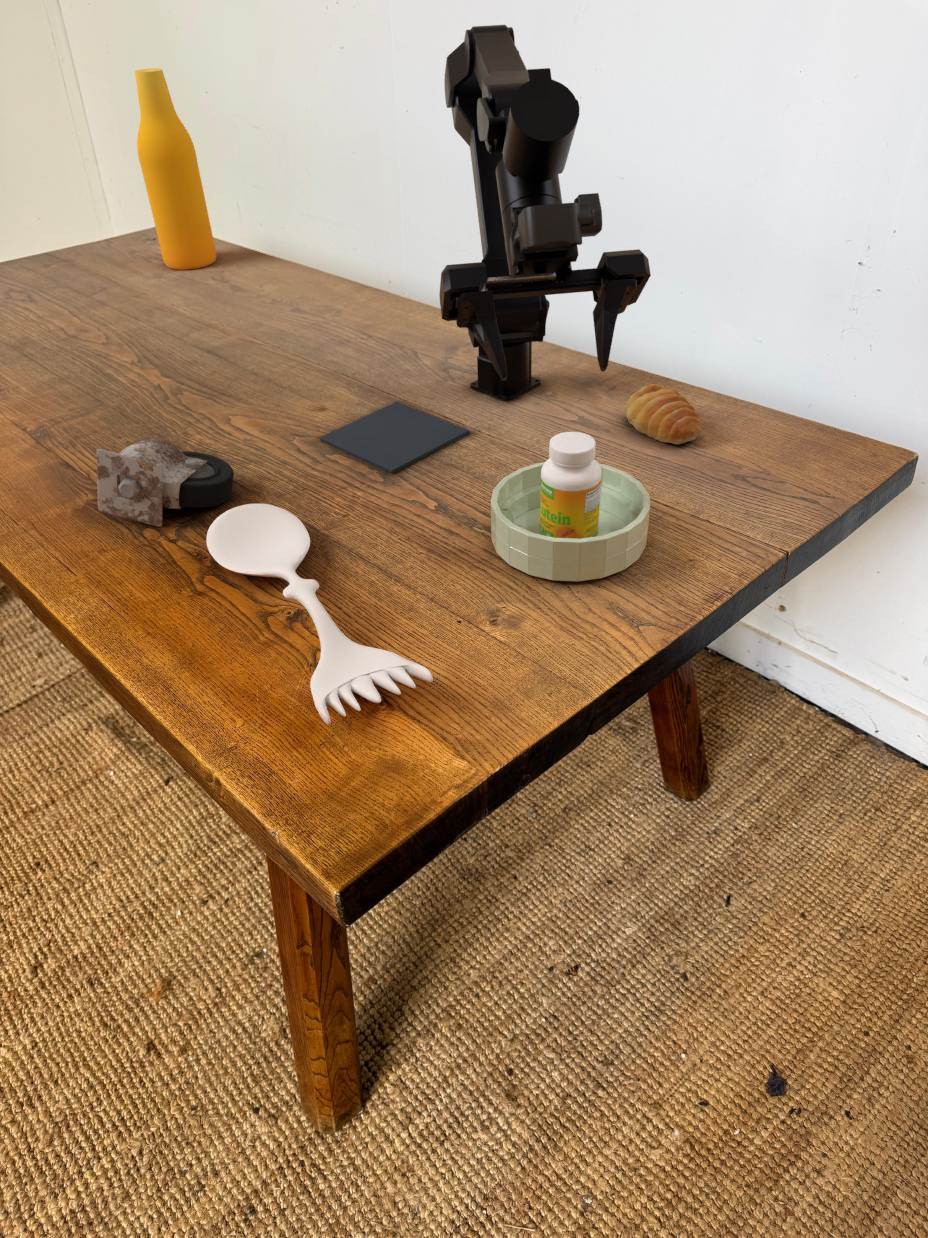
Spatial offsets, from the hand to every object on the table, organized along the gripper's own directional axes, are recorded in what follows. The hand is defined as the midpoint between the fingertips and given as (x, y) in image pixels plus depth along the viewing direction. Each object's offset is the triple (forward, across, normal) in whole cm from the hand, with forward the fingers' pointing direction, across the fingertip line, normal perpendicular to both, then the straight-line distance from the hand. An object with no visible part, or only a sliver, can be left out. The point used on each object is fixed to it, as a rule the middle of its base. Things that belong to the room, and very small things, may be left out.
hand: (554, 373), depth 80 cm
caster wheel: (+4, -38, +14) cm, 41 cm away
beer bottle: (-55, -45, +74) cm, 103 cm away
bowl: (+14, 0, +4) cm, 15 cm away
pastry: (0, +16, +19) cm, 24 cm away
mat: (-3, -14, +21) cm, 26 cm away
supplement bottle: (+14, 0, +4) cm, 15 cm away
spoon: (+20, -24, -1) cm, 31 cm away
